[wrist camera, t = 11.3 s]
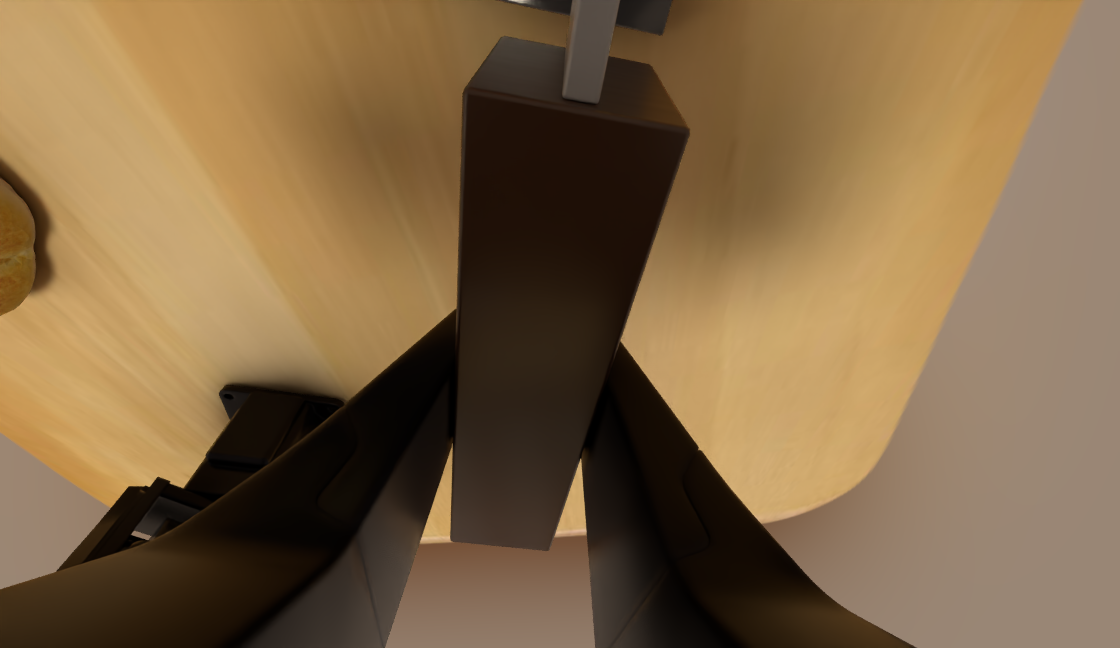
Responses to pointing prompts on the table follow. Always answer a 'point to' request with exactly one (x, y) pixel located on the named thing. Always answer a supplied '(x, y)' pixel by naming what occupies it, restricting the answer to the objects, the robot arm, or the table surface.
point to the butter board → (638, 10)
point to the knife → (548, 263)
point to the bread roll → (15, 249)
